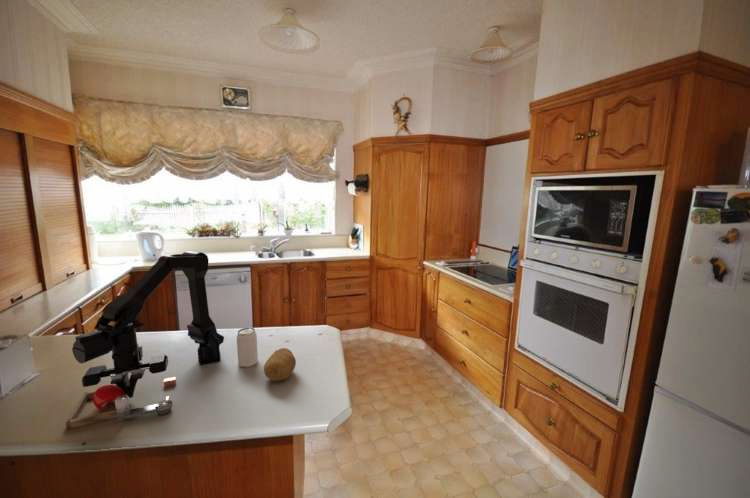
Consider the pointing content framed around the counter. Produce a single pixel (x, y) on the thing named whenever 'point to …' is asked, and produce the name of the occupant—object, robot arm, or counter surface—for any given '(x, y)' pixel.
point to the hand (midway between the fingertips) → (131, 396)
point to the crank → (124, 411)
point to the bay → (76, 422)
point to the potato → (280, 365)
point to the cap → (106, 395)
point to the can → (247, 347)
